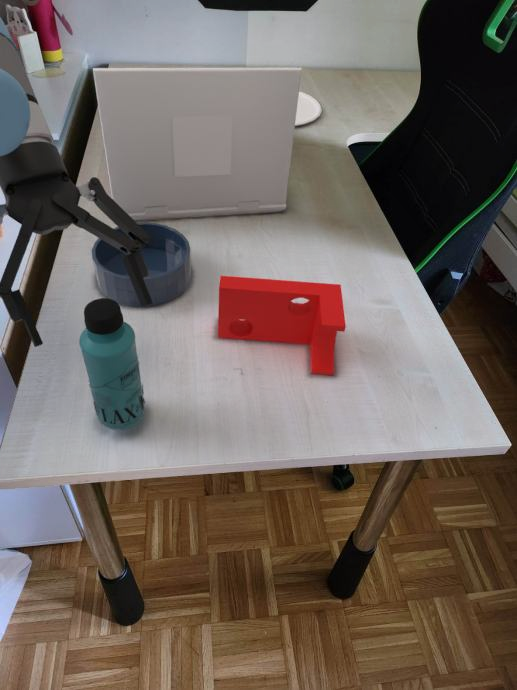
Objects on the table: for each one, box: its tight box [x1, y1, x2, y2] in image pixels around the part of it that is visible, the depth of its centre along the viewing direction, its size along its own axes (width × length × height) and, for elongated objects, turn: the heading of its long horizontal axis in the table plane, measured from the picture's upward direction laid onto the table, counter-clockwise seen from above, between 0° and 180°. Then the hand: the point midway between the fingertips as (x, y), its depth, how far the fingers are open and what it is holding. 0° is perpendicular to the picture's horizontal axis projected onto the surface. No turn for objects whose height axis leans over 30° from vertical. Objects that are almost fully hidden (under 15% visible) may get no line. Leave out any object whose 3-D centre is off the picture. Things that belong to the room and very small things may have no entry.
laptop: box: [92, 67, 303, 222], centre depth 104 cm, size 35×26×28 cm
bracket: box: [217, 275, 347, 376], centre depth 78 cm, size 18×10×10 cm
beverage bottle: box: [78, 297, 146, 431], centre depth 63 cm, size 6×7×20 cm
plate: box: [295, 90, 323, 127], centre depth 147 cm, size 29×29×1 cm
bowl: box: [91, 221, 192, 308], centre depth 89 cm, size 16×16×6 cm
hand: (95, 324), depth 62 cm, fingers open, 13 cm apart
